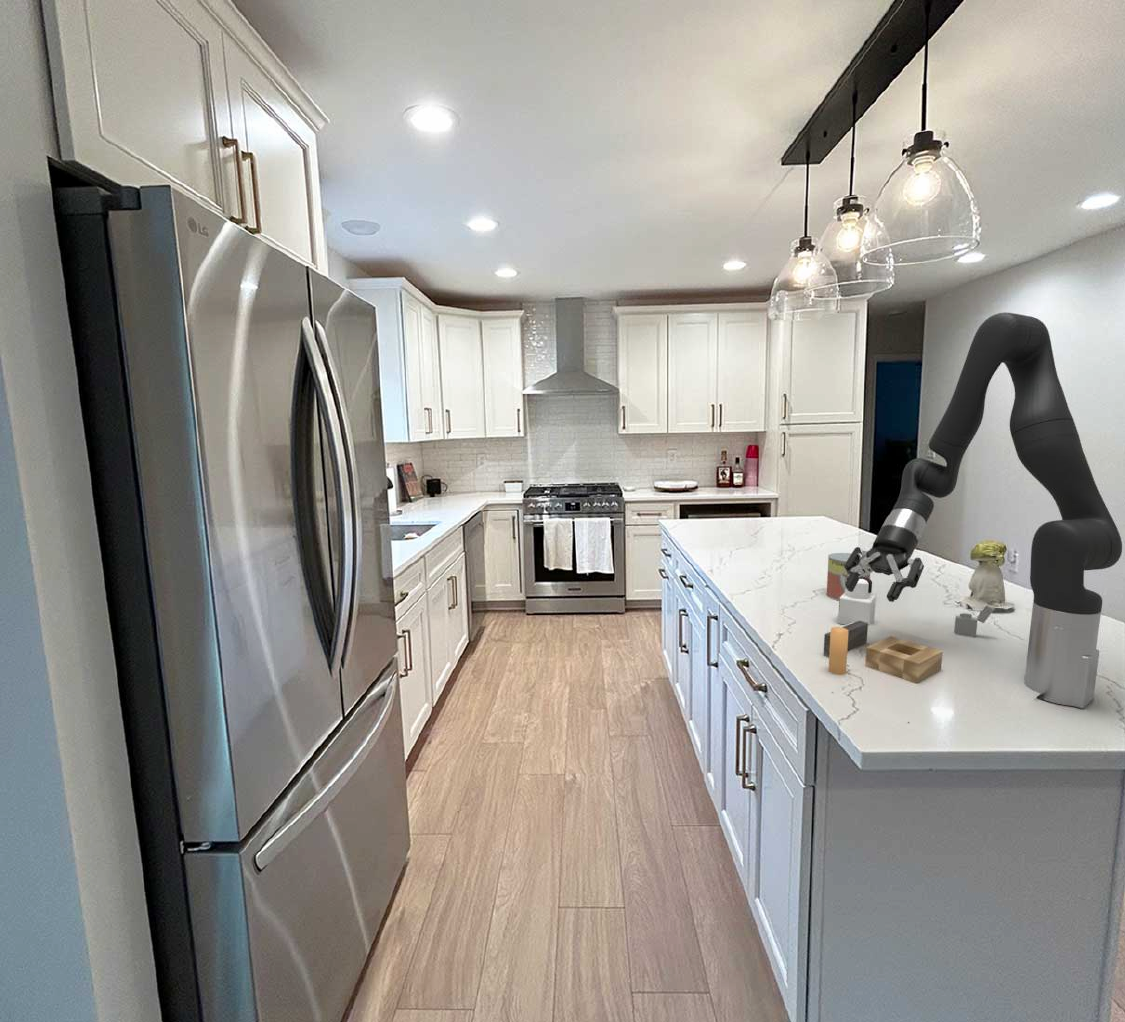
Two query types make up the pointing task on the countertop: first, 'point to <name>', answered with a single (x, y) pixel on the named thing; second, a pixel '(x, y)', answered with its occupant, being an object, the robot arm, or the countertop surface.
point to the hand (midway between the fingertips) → (868, 594)
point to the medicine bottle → (857, 603)
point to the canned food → (838, 574)
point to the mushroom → (987, 578)
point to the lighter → (971, 622)
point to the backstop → (850, 636)
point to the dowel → (838, 650)
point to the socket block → (904, 659)
